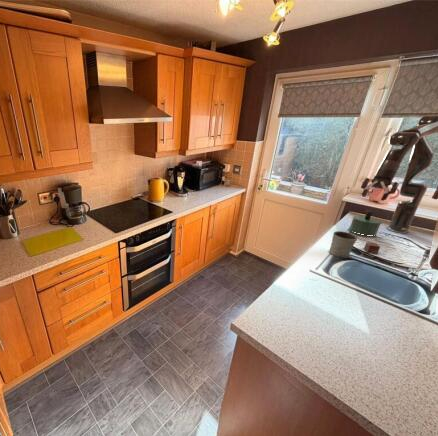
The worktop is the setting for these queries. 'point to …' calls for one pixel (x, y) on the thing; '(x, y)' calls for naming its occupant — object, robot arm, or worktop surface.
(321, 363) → the worktop surface
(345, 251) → the grey cup
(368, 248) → the block
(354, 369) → the worktop surface
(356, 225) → the tin
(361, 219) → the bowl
